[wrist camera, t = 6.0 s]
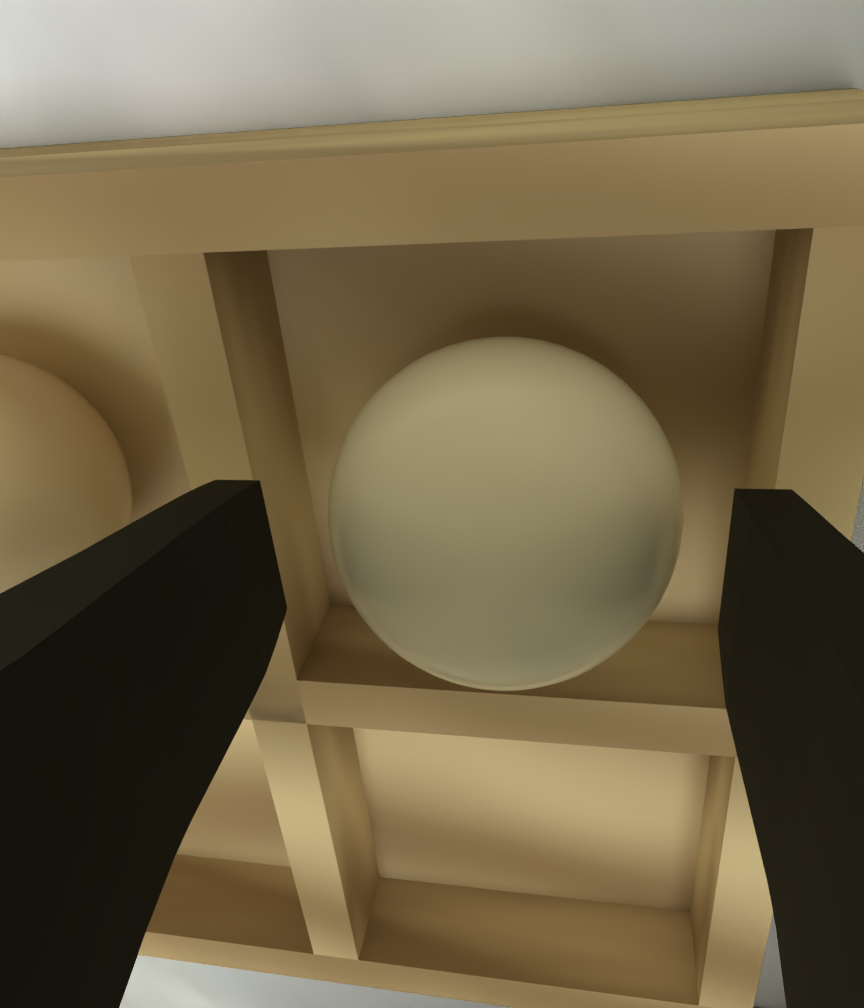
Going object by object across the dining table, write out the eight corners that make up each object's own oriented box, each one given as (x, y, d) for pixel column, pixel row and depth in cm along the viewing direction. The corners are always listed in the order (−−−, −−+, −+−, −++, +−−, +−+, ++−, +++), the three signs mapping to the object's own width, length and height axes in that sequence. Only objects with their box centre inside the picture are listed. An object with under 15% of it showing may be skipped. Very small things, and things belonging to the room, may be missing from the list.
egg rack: (727, 895, 19) (746, 1039, 17) (76, 825, 23) (5, 936, 20) (855, 88, 11) (938, 118, 8) (-224, 164, 14) (-419, 204, 11)
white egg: (657, 555, 14) (697, 776, 10) (386, 559, 14) (322, 764, 11) (669, 279, 11) (726, 424, 7) (345, 300, 12) (243, 442, 8)
